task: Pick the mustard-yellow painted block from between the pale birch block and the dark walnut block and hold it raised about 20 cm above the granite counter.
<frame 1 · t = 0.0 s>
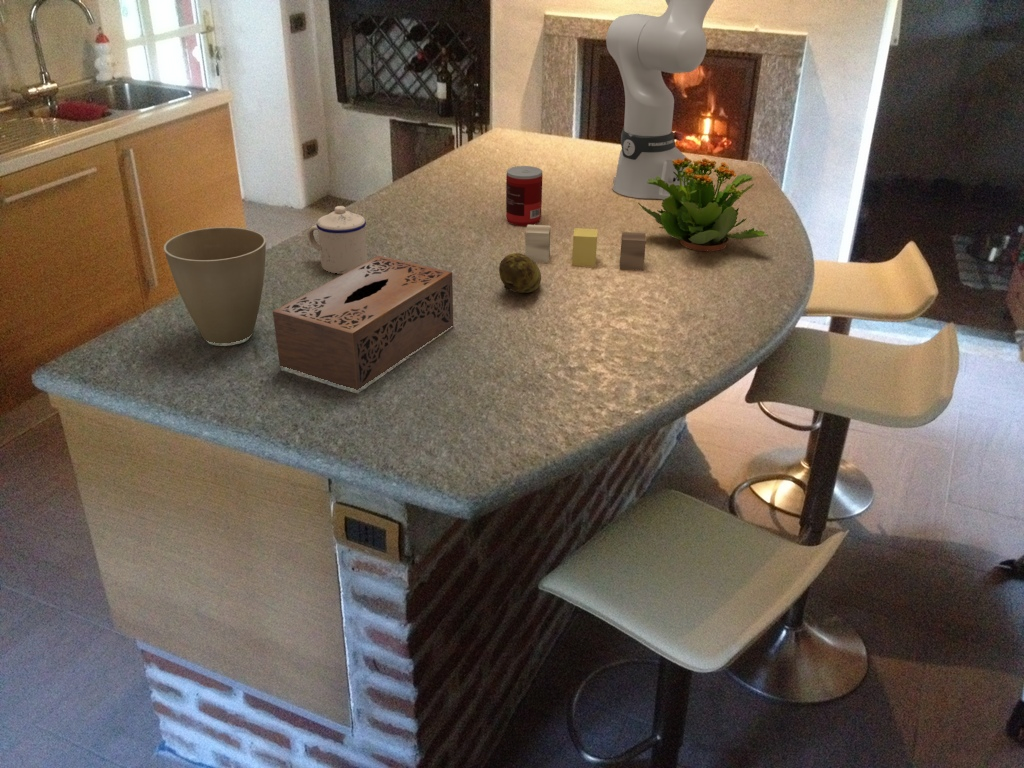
birch block: (537, 258, 176), on the kitchen island
mustard block: (584, 262, 174), on the kitchen island
tissue box cover: (371, 350, 141), on the kitchen island
walnut block: (631, 265, 173), on the kitchen island
plant pot: (230, 337, 144), on the kitchen island
teacup with lid: (338, 266, 171), on the kitchen island
potato: (521, 292, 161), on the kitchen island
potted flower: (703, 246, 183), on the kitchen island
canned food: (523, 221, 195), on the kitchen island
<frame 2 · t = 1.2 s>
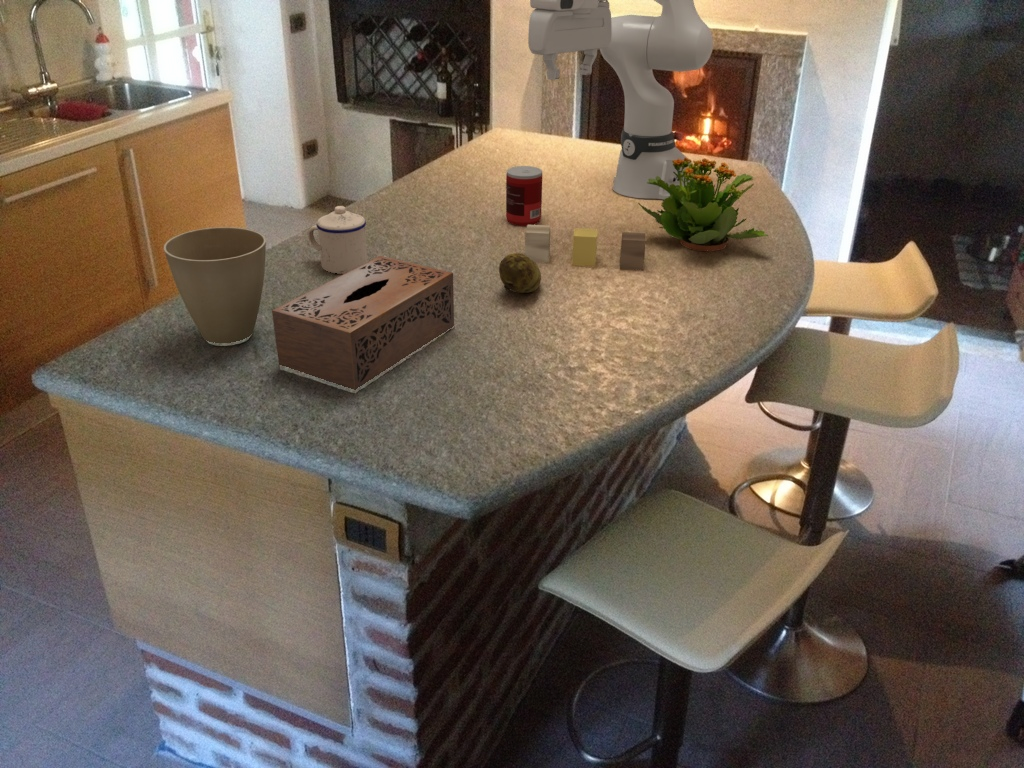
hand: (569, 76, 168), 33 cm above the kitchen island, tool pointing down, fingers open, 8 cm apart
nothing on the kitchen island moved.
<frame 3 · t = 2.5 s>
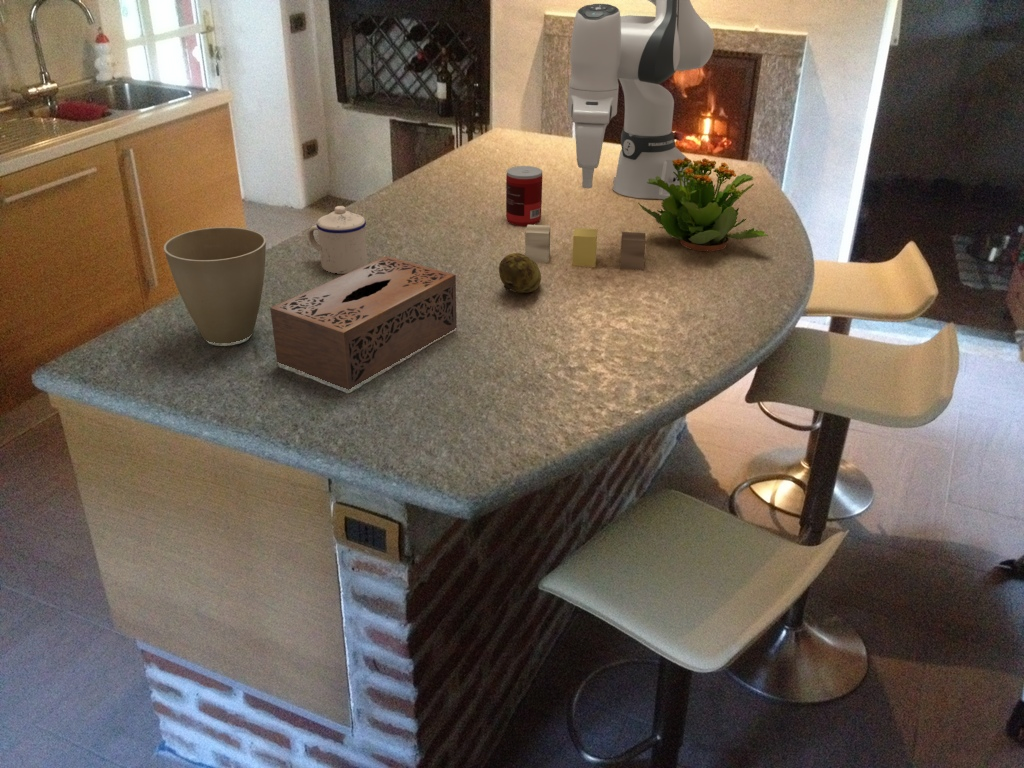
hand: (588, 180, 166), 16 cm above the kitchen island, tool pointing down, fingers open, 8 cm apart
nothing on the kitchen island moved.
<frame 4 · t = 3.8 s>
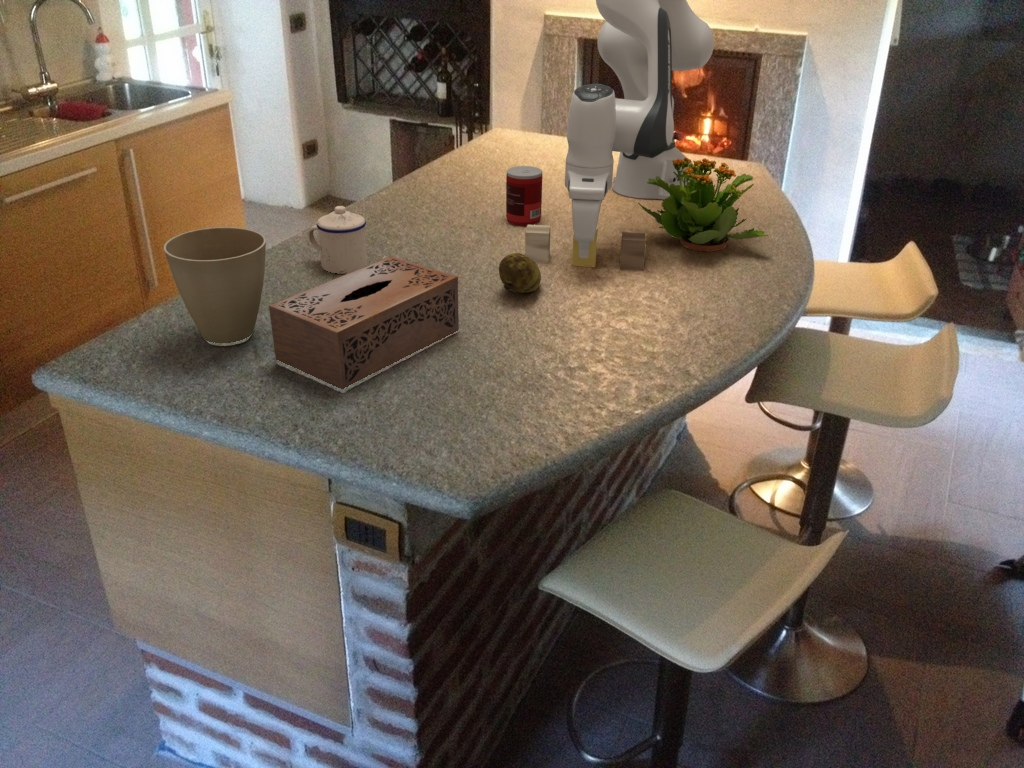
hand: (584, 248, 173), 3 cm above the kitchen island, tool pointing down, fingers open, 8 cm apart
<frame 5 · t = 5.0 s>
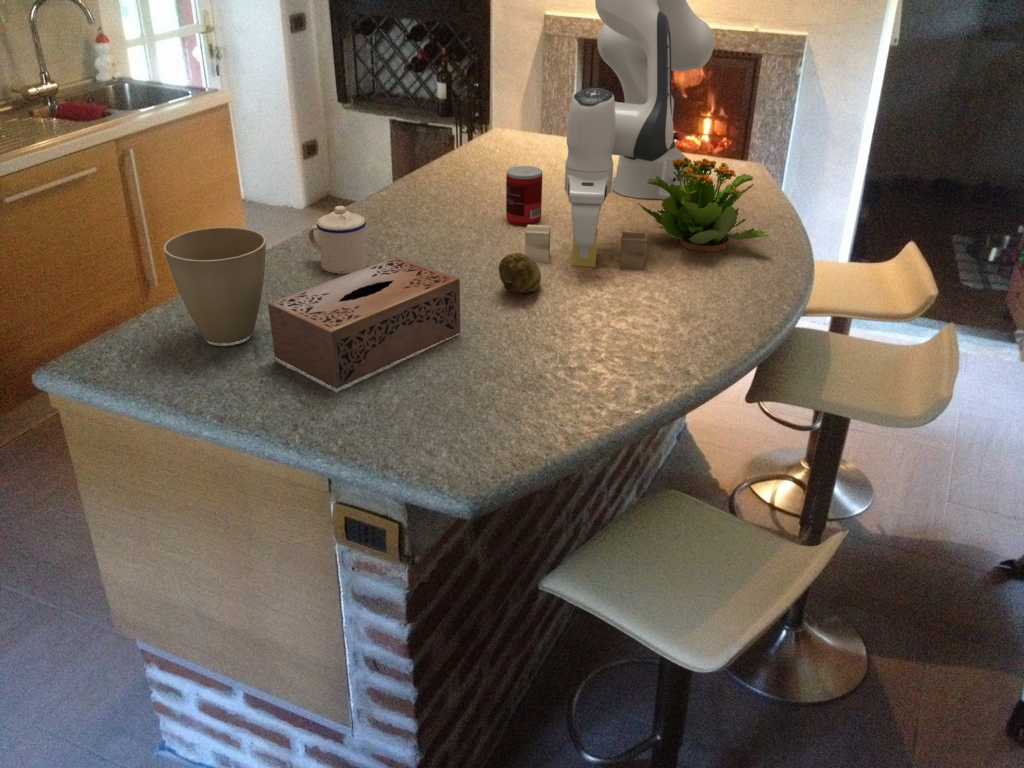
hand: (584, 251, 173), 2 cm above the kitchen island, tool pointing down, fingers closed on mustard block, 4 cm apart
mustard block: (584, 261, 174), on the kitchen island, touching gripper
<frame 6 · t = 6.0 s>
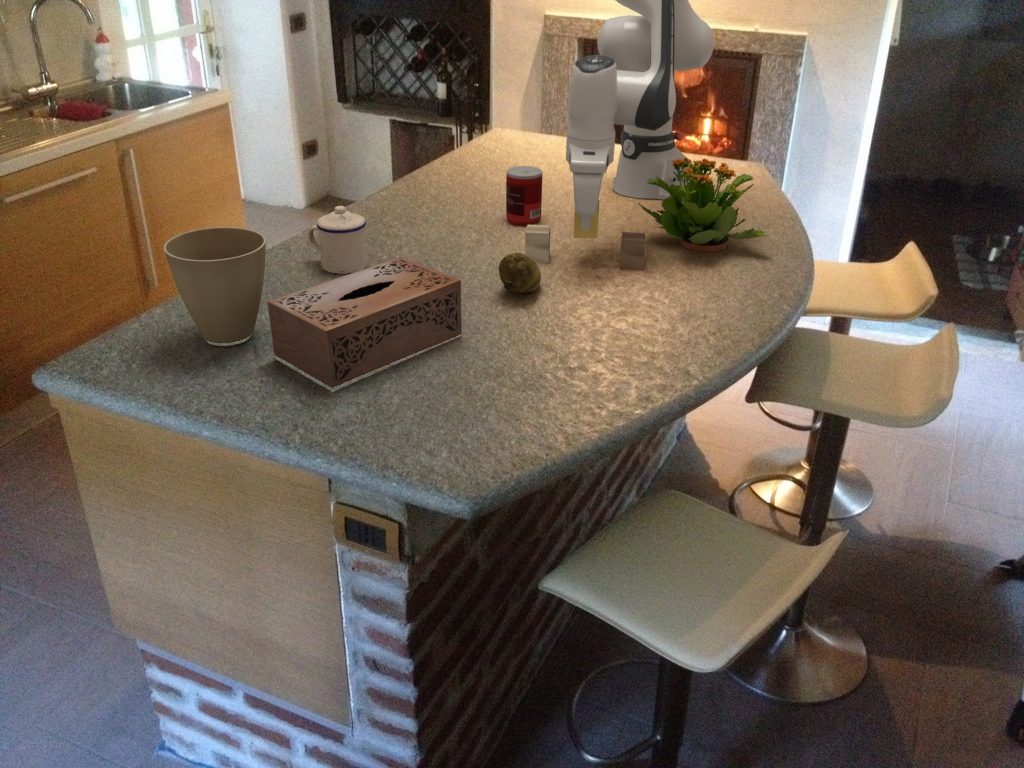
hand: (586, 223, 171), 8 cm above the kitchen island, tool pointing down, fingers closed on mustard block, 4 cm apart
mustard block: (585, 233, 172), point 6 cm above the kitchen island, touching gripper
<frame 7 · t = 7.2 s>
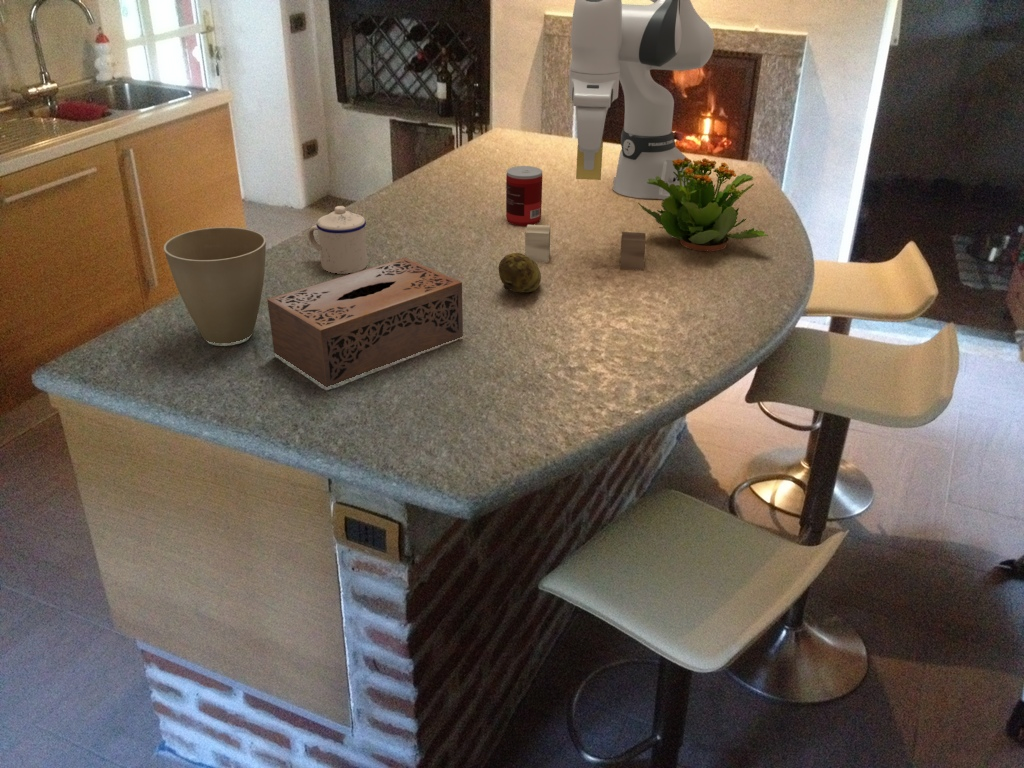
hand: (589, 164, 165), 19 cm above the kitchen island, tool pointing down, fingers closed on mustard block, 4 cm apart
mustard block: (588, 176, 166), point 17 cm above the kitchen island, touching gripper
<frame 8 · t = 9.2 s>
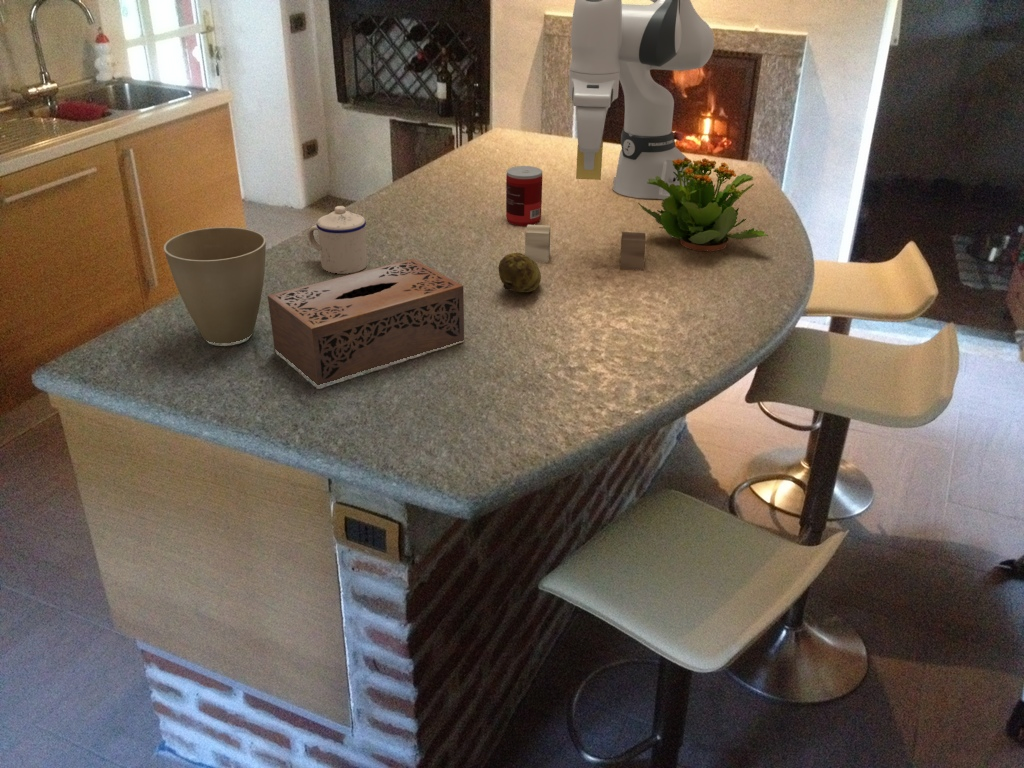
hand: (589, 164, 165), 19 cm above the kitchen island, tool pointing down, fingers closed on mustard block, 4 cm apart
mustard block: (588, 175, 166), point 17 cm above the kitchen island, touching gripper
at the end: mustard block inside the target area (0.0 cm from its centre), point 16.9 cm above the kitchen island; birch block moved 0.1 cm from its start; walnut block moved 0.1 cm from its start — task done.
